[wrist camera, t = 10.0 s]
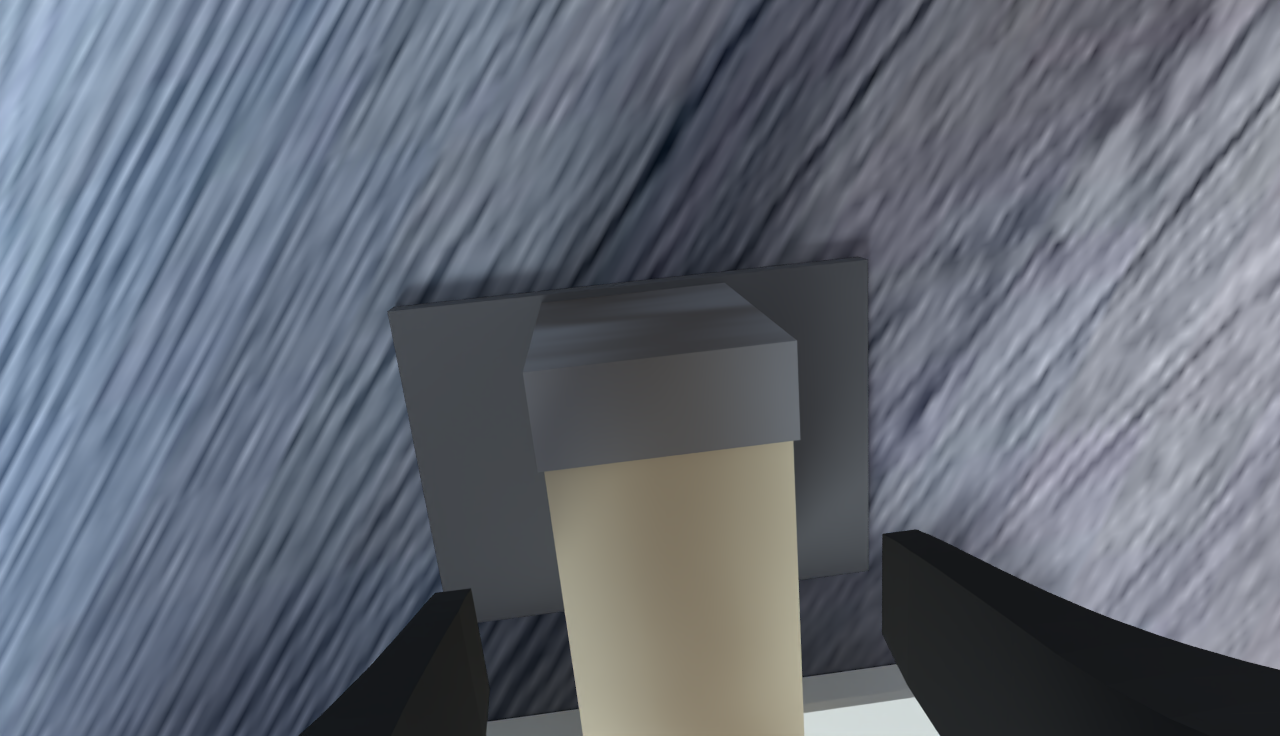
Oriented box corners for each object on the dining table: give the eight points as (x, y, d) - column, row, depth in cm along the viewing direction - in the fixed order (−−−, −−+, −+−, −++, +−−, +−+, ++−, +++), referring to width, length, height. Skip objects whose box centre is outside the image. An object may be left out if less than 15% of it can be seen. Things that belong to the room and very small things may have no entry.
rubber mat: (454, 613, 20) (450, 626, 20) (393, 307, 18) (387, 311, 17) (860, 559, 21) (868, 570, 20) (858, 256, 18) (867, 259, 18)
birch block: (584, 614, 20) (587, 800, 14) (541, 302, 17) (522, 372, 12) (743, 592, 20) (811, 766, 14) (724, 282, 18) (797, 339, 12)
